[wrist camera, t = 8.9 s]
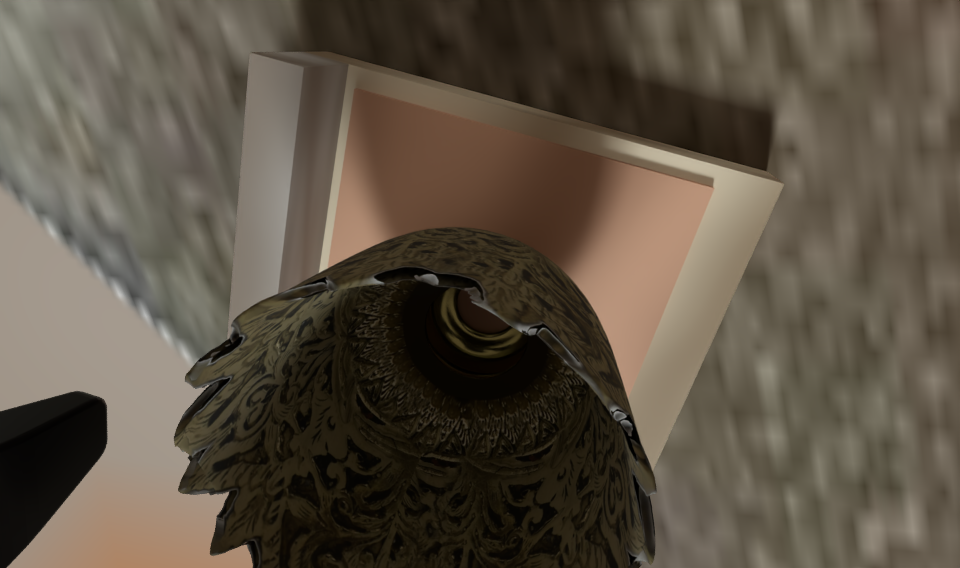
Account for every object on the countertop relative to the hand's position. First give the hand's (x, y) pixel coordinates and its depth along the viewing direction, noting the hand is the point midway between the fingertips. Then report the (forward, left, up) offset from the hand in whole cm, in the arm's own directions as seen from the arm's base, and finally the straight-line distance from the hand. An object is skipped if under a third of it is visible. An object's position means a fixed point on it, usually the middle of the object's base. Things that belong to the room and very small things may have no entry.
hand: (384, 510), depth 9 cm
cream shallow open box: (0, 0, -10) cm, 10 cm away
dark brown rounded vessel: (0, 0, -8) cm, 8 cm away
